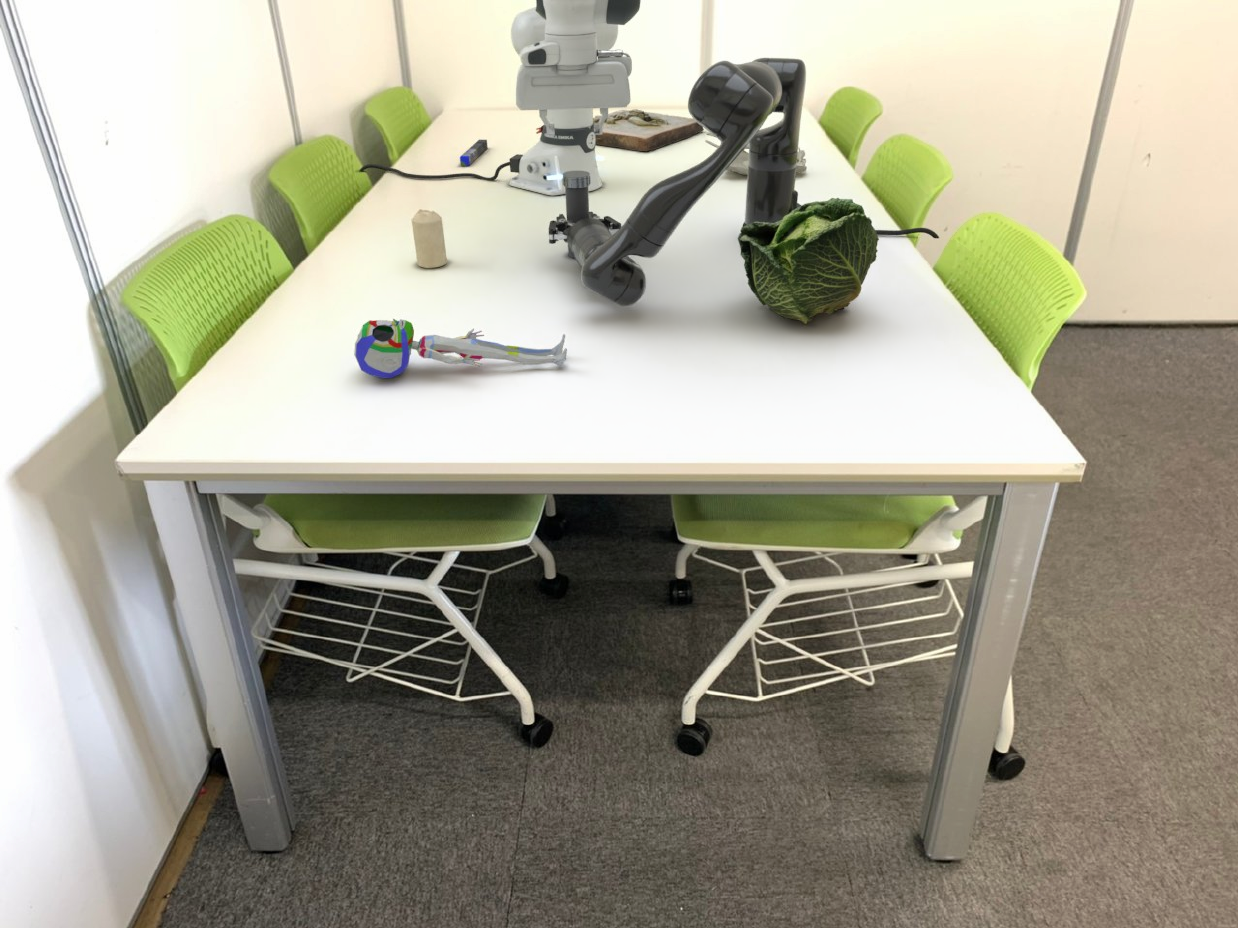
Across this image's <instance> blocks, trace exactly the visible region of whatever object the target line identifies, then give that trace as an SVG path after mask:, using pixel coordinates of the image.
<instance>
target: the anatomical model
mask: <svg viewBox="0 0 1238 928" xmlns="http://www.w3.org/2000/svg"><path fill="white" fill-rule="evenodd" d="M705 135H706V136H710V137H714V138H716V137H715V136H714V135H713V134H711V133H710V132H709V131H708V132H706V134H705ZM705 143H707V145H710V146H712V147H714V148H716V149H717V148H718V147H719V146H720V145H719V144H716V143H714V142H712V141H710V140H707V139H705ZM749 144H750V142H749V143H748V145H747V146H746V147H745V148H744V149H743V151H742V152H741V153H740V154H739V155H738V156H737V158H736V159H735V160H734V161H733V162H732V163H731V165H730V166H729V167H728V168H727V169H726V170H727V171H729V172H736V173H737V174H739V175H742V176H748V160H749V151H746V150H749ZM805 156H806V152H805V150H801V148H800V147H798V153H797V164H796V174H798V173H803V172H805V171H807V170H808V168H807V165H806V164H807V159H806V158H805Z"/></svg>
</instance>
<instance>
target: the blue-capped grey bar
mask: <svg viewBox="0 0 1238 928" xmlns="http://www.w3.org/2000/svg"><path fill="white" fill-rule="evenodd" d="M487 149H488V140H487V139H478V140H477V141H476V142H474V144H473V145H471V146H470V147H469V148H468V149H467V150H466V151H465V152H463V154H461V155H460V156H459V163H460V164H459V165H460V166H461V167H465V166H466V167H467V166H470V165H472V164H473V162H475V161H476V160H477V158H479V157H480V156H481V155H482V154H483V153H484V152H485V151H486V150H487Z"/></svg>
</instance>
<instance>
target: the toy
mask: <svg viewBox="0 0 1238 928" xmlns="http://www.w3.org/2000/svg"><path fill="white" fill-rule="evenodd" d="M474 331H475V328H472V329H471V330H469V331H468V332H467V333H466V334H465V335H463V336H458V337H449V336H448V337H447V336H442V335H439V334H428V335H423V336H421V338H420V339H419V341H417V340H414V336H415V329H414V326H413V324H412V322H410V321H408V320H407V319H399V320H397V319H395V318H392V320H387V319H379V320H368V321H367V322H365V323H364V324H362V326H361V329H360V331H359V333H358V334H357V338H356V340H355V342H354V354H353V355H354V357H355V359H356V362H357V364H358V366H359V369H360V370H361V372H364V373H366V374H367V375H370V376H373V377H377V378H382V379H383V378H384V379H392V378H394V377H396V376H398V375H400V374H401V375H402V374H403V372H404V371H405V370H406V368H407V367H408V366H409V364H410V357H411V355H412V350H415V351H417V353H418V356H419V357H421V358H422V359H430V360H434V361H438V362H442V363H444V364H449V365H458V364H459V365H461V364H465V365H471V366H477V367H479V368H480V367H481V366H482V365H483V363H482V362H478V361H480V360H482V359H487V360H488V359H489V360H503V361H509V362H514V363H517V364H520V365H528V366H529V365H542V364H550V363H553V364H555V365H557V366H559V367H562V366H563V364H564V362H565V361H566V360H567V357H568V355H567V353H568V348H566V347H565V348H564V345H565V340H566V334H565V333H563V334H562V338H561V340H560V341H559V343H558V344H556V345H555V346H554V347H552V348H533V347H532V348H531V347H523V346H518V345H517V346H516V345H504V344H501V343H498V342H494V341H488V340H482V339H478V338H479V337H480V338H481V337H485V334H480V333H482V332H483V331H482V330H479V331H476V332H474ZM563 349H564V350H563ZM453 353H455V354H457V355H459V357H458V356H455V355H448V354H453ZM445 354H447V355H445Z"/></svg>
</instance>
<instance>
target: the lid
mask: <svg viewBox="0 0 1238 928" xmlns="http://www.w3.org/2000/svg"><path fill="white" fill-rule="evenodd" d="M562 180H563V186H564V187H567V188H584V187H588V186H589V185H590V184H591V182H590V173H589V172H586V171H568V172H565V173H563V176H562Z"/></svg>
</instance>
